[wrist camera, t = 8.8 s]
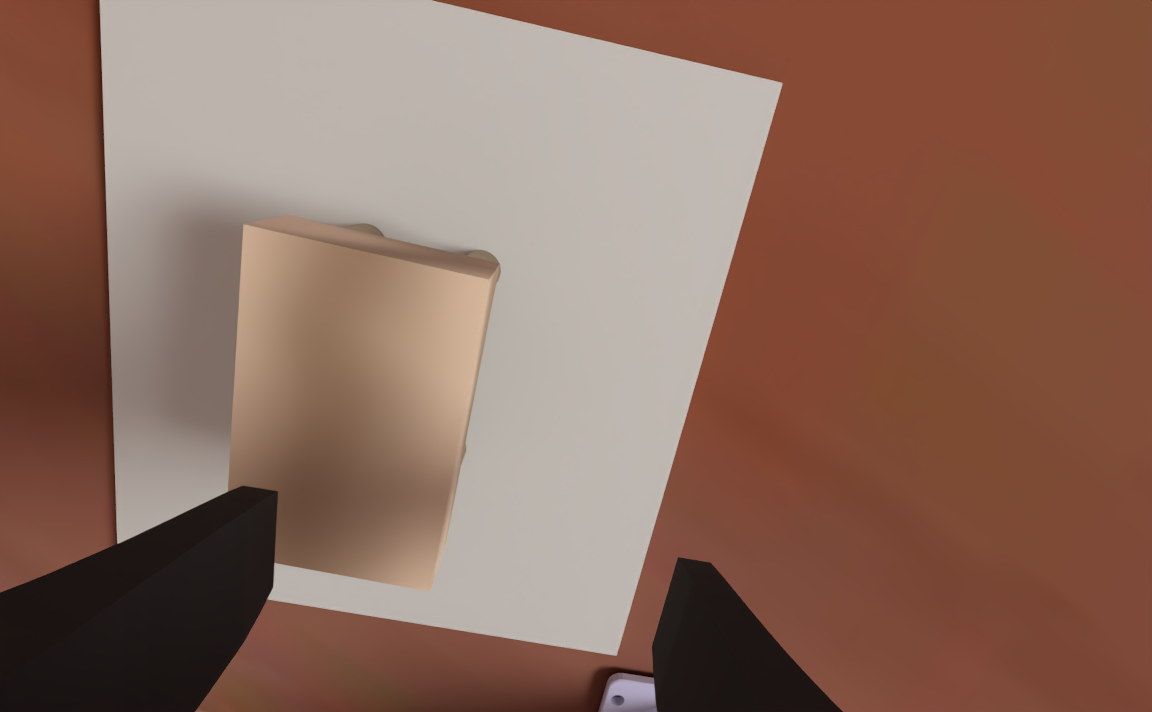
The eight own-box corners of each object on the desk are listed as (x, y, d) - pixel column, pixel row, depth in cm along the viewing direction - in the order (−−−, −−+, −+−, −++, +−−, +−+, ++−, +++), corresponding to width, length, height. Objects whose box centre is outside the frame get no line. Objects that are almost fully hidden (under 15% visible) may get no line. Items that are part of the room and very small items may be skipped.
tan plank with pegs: (513, 243, 18) (489, 279, 12) (466, 478, 20) (429, 591, 15) (342, 203, 17) (243, 224, 12) (315, 448, 20) (223, 553, 15)
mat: (615, 645, 23) (616, 655, 23) (128, 565, 22) (118, 575, 21) (776, 85, 17) (782, 83, 16) (111, -71, 16) (97, -79, 15)
